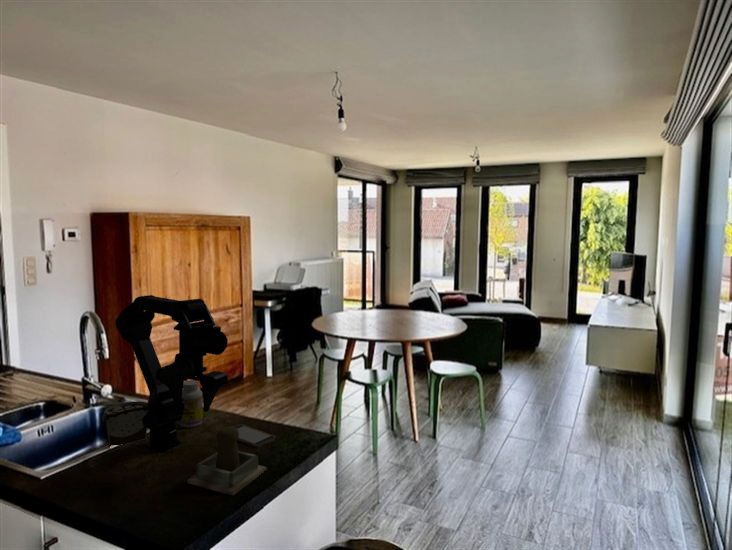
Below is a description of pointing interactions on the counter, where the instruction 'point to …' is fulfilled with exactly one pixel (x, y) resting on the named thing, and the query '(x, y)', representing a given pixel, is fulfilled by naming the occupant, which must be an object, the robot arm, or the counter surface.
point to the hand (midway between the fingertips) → (191, 408)
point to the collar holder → (227, 474)
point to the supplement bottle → (191, 404)
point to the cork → (227, 449)
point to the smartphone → (253, 436)
